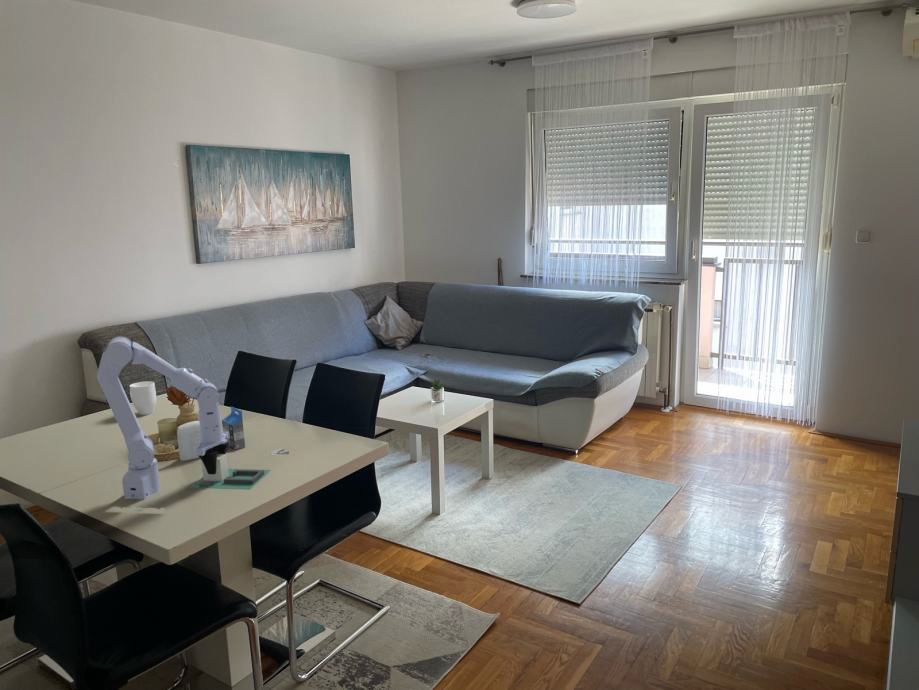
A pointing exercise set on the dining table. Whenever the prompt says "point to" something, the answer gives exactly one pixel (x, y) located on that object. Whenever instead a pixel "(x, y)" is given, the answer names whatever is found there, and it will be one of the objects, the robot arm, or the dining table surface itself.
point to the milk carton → (234, 429)
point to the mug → (143, 397)
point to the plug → (217, 469)
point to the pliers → (279, 452)
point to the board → (234, 479)
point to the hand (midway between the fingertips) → (215, 470)
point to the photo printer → (189, 440)
